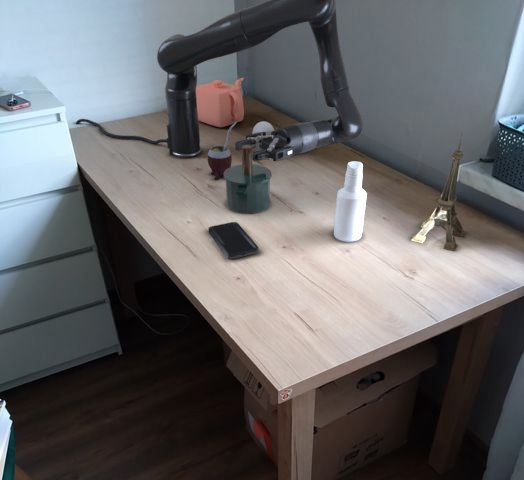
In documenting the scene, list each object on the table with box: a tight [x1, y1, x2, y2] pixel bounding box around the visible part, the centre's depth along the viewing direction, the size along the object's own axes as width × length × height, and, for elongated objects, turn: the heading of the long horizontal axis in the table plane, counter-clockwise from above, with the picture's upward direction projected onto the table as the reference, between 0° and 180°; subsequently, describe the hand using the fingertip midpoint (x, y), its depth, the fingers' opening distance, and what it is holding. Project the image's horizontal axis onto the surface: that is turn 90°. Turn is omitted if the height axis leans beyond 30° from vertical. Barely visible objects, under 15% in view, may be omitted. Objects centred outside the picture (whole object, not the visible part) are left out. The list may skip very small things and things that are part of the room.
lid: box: [223, 145, 273, 186], centre depth 141 cm, size 13×13×8 cm
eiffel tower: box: [410, 132, 467, 252], centre depth 126 cm, size 11×11×25 cm
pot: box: [225, 179, 271, 215], centre depth 146 cm, size 11×17×8 cm
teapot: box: [196, 77, 245, 128], centre depth 197 cm, size 20×19×14 cm
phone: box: [208, 221, 259, 260], centre depth 132 cm, size 8×1×15 cm
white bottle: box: [333, 160, 368, 243], centre depth 129 cm, size 7×7×18 cm
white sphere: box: [250, 120, 275, 146], centre depth 181 cm, size 10×7×7 cm
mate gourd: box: [207, 121, 238, 181], centre depth 158 cm, size 8×8×15 cm
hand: (244, 151), depth 139 cm, fingers open, 8 cm apart
